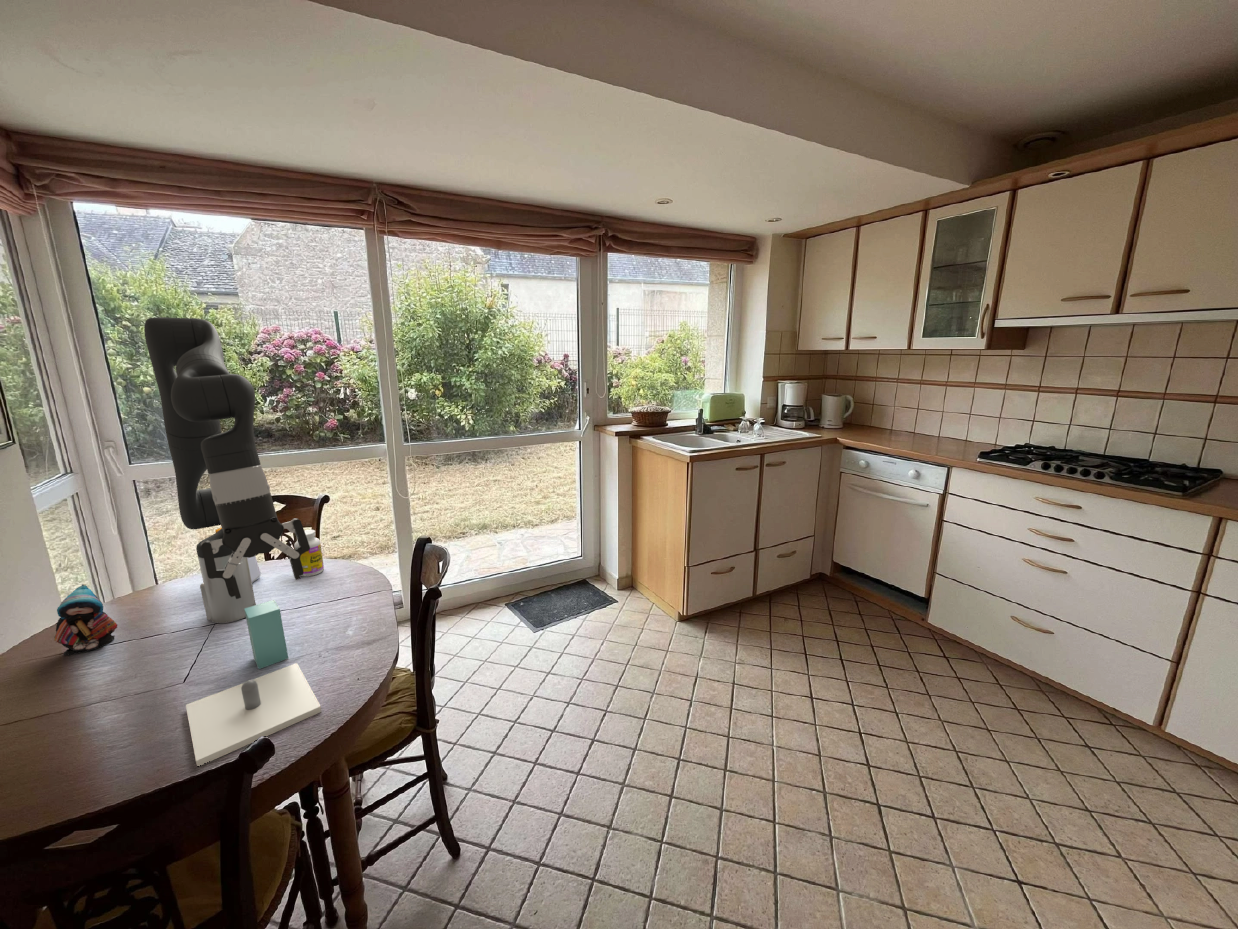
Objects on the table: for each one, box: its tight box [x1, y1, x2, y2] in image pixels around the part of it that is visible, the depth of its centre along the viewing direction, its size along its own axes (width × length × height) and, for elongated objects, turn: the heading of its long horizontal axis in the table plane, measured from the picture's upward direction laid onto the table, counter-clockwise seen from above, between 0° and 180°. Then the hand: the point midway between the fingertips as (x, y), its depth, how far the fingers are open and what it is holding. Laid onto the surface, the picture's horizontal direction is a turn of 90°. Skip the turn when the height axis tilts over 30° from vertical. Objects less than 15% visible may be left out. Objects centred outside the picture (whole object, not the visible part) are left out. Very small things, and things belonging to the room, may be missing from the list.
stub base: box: [185, 662, 323, 767], centre depth 92 cm, size 18×18×6 cm
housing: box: [244, 599, 289, 670], centre depth 107 cm, size 5×5×12 cm
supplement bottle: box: [293, 529, 325, 577], centre depth 148 cm, size 7×7×13 cm
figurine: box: [53, 583, 118, 656], centre depth 110 cm, size 10×7×15 cm
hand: (268, 588), depth 85 cm, fingers open, 8 cm apart
